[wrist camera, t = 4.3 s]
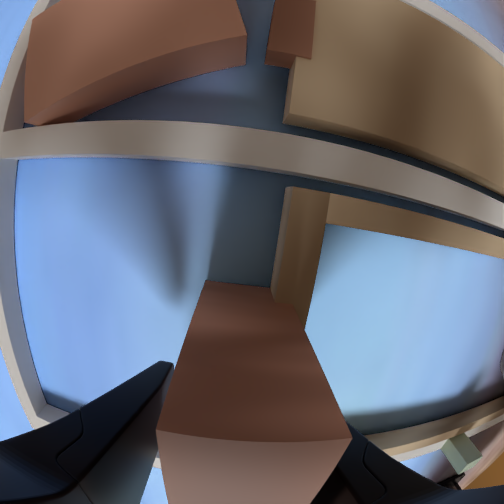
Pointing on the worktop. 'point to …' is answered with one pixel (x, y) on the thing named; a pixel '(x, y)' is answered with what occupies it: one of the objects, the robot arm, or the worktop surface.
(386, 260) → the worktop surface
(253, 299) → the tan rectangular frame
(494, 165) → the tan long flat piece
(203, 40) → the reddish brown block
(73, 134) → the lane tray
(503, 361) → the coffee cup
